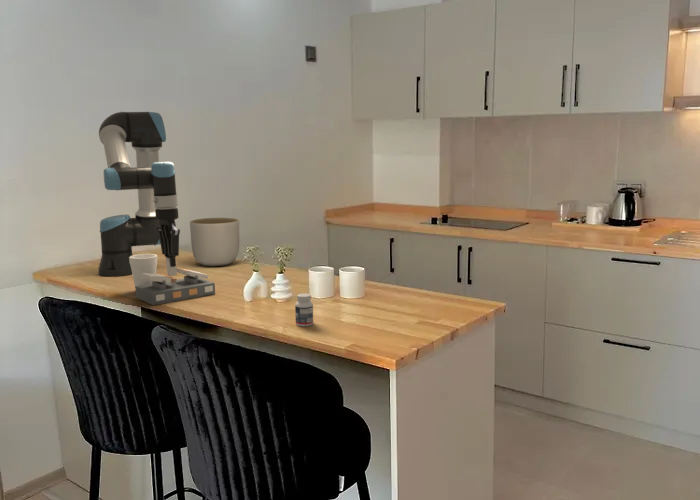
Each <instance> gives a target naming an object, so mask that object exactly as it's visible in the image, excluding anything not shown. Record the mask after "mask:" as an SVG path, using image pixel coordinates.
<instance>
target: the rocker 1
mask: <svg viewBox="0 0 700 500" xmlns="http://www.w3.org/2000/svg"><path fill="white" fill-rule="evenodd" d="M141 277H142V278H145V279H147V280H150V281H157V282H160V283H163V284H165V283H166V282H169V283H176V280H177V278H175V277H174V276H167V275H166V274H158V273H156V274H146V273H142V276H141Z"/></svg>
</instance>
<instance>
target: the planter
mask: <svg viewBox="0 0 700 500" xmlns="http://www.w3.org/2000/svg"><path fill="white" fill-rule="evenodd" d="M189 230H190V242H191V251H192V256H193V257H194V259H195V261H196V262H197V263H198V264H200V265H201V266H206V267H223V266H228V265H231V264H233V262H234V261H236V259H237V258H238V256H239V253H240V219H238V218H232V217H208V218H207V217H206V218H205V217H204V218H196V219H192V220H190V221H189Z"/></svg>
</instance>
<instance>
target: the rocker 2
mask: <svg viewBox="0 0 700 500" xmlns="http://www.w3.org/2000/svg"><path fill="white" fill-rule="evenodd" d="M176 270H177V274H181V275H184V276H190V277H193V278H196V279H197V278H198V277H199V278H202V279H205V280H208V277H209V275H208V274H206V273H203V272H199V271H195V270H190V269H184V268H181V267H176Z"/></svg>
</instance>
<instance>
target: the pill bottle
mask: <svg viewBox="0 0 700 500" xmlns="http://www.w3.org/2000/svg"><path fill="white" fill-rule="evenodd" d="M296 296H297V297H296V300H297V301H296V302H295V307H294V308H295V309H294V311H295V326H298V327H309V326H312V325H313V324H314V303H313V302H312V296H311V294H310V293H298V294H297V295H296Z"/></svg>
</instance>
